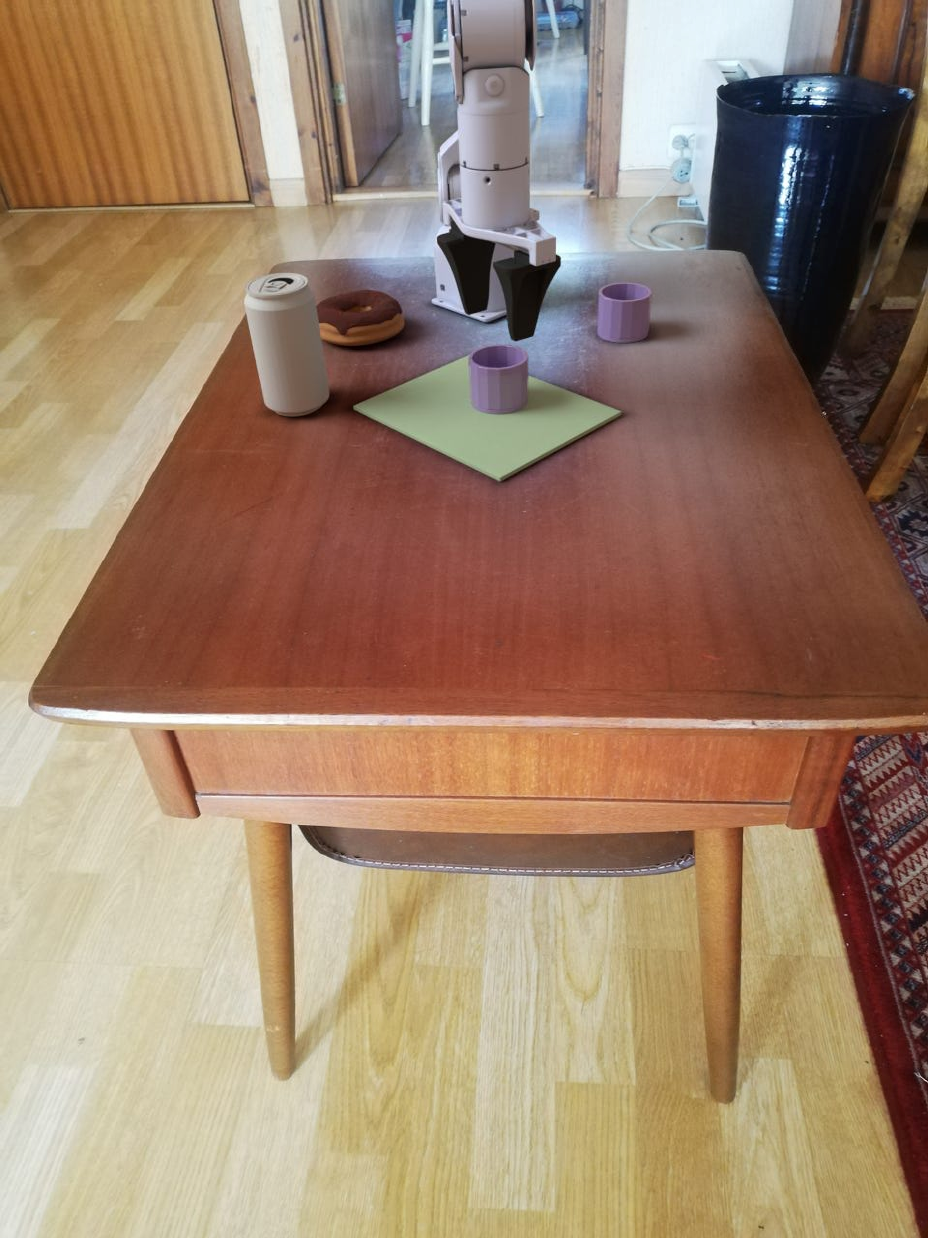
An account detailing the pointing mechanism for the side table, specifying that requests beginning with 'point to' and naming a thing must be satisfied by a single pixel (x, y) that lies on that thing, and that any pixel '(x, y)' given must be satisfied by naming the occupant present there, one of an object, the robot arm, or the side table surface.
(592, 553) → the side table surface
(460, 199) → the robot arm
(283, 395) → the beverage can
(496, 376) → the purple plastic cup
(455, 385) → the placemat
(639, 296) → the faceted lilac cup
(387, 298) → the donut
